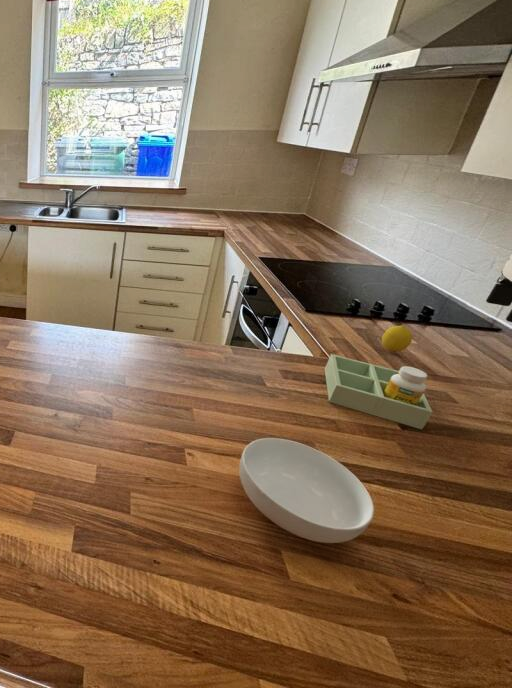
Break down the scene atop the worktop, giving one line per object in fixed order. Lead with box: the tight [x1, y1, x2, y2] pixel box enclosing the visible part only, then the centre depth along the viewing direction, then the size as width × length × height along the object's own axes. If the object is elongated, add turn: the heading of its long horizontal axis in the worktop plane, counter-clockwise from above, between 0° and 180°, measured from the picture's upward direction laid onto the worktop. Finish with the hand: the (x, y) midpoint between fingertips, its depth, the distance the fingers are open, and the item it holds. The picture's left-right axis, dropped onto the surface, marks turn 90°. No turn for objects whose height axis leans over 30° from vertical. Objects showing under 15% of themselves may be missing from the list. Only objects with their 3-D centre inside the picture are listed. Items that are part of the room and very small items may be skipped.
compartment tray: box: [324, 353, 434, 430], centre depth 90 cm, size 15×15×5 cm
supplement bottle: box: [383, 365, 428, 406], centre depth 84 cm, size 5×5×10 cm
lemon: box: [381, 325, 413, 353], centre depth 108 cm, size 6×6×8 cm
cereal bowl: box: [238, 437, 375, 544], centre depth 63 cm, size 17×17×7 cm
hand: (507, 313), depth 76 cm, fingers open, 9 cm apart
